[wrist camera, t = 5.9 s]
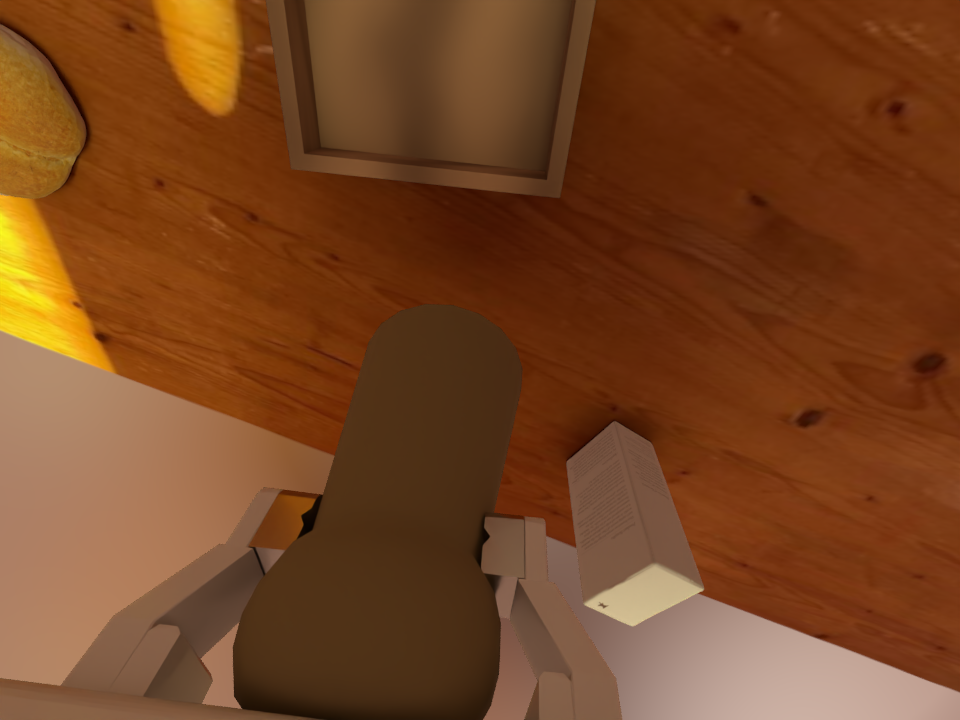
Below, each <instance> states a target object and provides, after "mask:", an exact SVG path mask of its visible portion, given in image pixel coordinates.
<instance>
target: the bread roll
mask: <svg viewBox="0 0 960 720" xmlns="http://www.w3.org/2000/svg"><path fill="white" fill-rule="evenodd" d="M85 139H86V126H85V123H84V121H83V118H82V116H81V115H80V113H79V111H78V108H77V107H76V105H75V103H74V102H73V100H72V98H71V96H70V94H69V93H68V91H67V90H66V88H65V87H64V85H63V83H62V82H61V80H60V78H59V77H58V75H57V73H56V71H55V70H54V68H53V67H52V65H51V63H50V62H49V61H48V59H47V58H46V57H45V56H44V55H43V54H42V53H41V52H40V51H39V50H38V49H37V48H35V47H34V46H33V45H32V44H31V43H30V42H28V41H27V40H25V39H24V38H22V37H21V36H19V35H18V34H16V33H15V32H13V31H11V30H10V29H9V28H7V27H5V26H3V25H1V24H0V195H5V196H14V197H21V198H30V199H33V198H41V197H45V196H47V195H49V194H51V193H53V192H54V191H56V190H57V189H59V188H60V187H61V186H62V185H63V184H64V183H65V182H66V180H67V179H68V177H69V174H70V172H71V169H72V166H73V164H74V162H75V159H76V157H77V155H79V153H80V152H81V150H82V148H83V146H84V143H85Z"/></svg>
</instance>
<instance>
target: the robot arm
mask: <svg viewBox="0 0 960 720" xmlns="http://www.w3.org/2000/svg"><path fill="white" fill-rule="evenodd" d="M322 497H323V495H321V494H313V493H306V492H298V491H290V490H283V489H274V488H266V487H264V488H263V489H261V490H260V491H259V492H258V493H257V495H256V496H255V498H254V500H253V501H252V503H251V504H250V506H249V507H248V509H247V511H246V512H245V514H244V515H243V517H242V518H241V520H240V522H239V523H238V525H237V527H236V528H235V530H234V531H233V533H232V534H231V536H230V538H229V539H228V541H227V542H226V544H219V545H217V546H216V547H214V548H213V549H211V550H210V551H208V552H207V553H205V554H204V555H202V556H201V557H199V558H198V559H196V560H195V561H194V562H192V563H191V564H189V565H188V566H186V567H185V568H183V569H182V570H180V571H179V572H177V573H176V574H174V575H173V576H171V577H170V578H168V579H167V580H166V581H164V582H162V583H161V584H160V585H158V586H157V587H155V588H154V589H152V590H151V591H149V592H148V593H146V594H145V595H143V596H142V597H140V598H139V599H137V600H136V601H134V602H133V603H131V604H130V605H128V606H127V607H126V608H124V609H123V610H121V611H120V612H118V613H117V614H115V615H114V616H113V617H112V618H111V619H110V621H109V622H108V623H107V625H106V626H105V627H104V629H103V630H102V631H101V633H100V634H99V635H98V637H97V638H96V639H95V641H94V642H93V643H92V645H91V646H90V647H89V649H88V650H87V651H86V653H85V654H84V655H83V656H82V658H81V659H80V661H79V662H78V663H77V665H76V666H75V667H74V668H73V670H72V671H71V673H70V674H69V675H68V677H67V678H66V679H65V681H64V682H63V683H62V685H61V686H57V685H50V684H42V683H34V682H27V681H19V680H11V679H3V678H0V720H323V719H315V718H308V717H300V716H292V715H284V714H276V713H269V712H261V711H253V710H245V709H237V708H230V707H222V706H214V705H206V704H202V702H203V700H204V698H205V695H206V694H207V691H208V690H209V687H210V685H211V683H212V681H213V680H212V676H211V673H210V672H209V670H208V669H207V668H206V666H205V665H204V663H203V662H202V660H201V658H202V657H203V656H204V655H205V654H206V653H207V652H208V651H209V650H210V649H211V648H212V647H213V646H214V645H215V644H216V643H217V642H218V641H219V640H221V639H222V638H223V637H224V636H225V635H226V634H227V633H228V632H229V631H230V630H231V629H232V628H233V627H234V626H235V625H236V624H237V623H239V622H240V619H241V615H242V612H243V611H244V609H245V607H246V605H247V603H248V601H249V599H250V597H251V596H252V594H253V592H254V590H255V588H256V586H257V584H258V583H259V581H260V580H261V579H262V578H263V577H264V575H265V574H266V573H267V572H268V571H269V569H270V568H271V567H272V566H273V565H274V563H275V562H276V561H277V560H278V559H279V557H280V556H281V555H282V554H283V553H284V552H285V550H286V549H287V548H288V547H289V546H290V545H291V543H292V542H293V541H295V540H297V539H299V538H300V537H302V536H304V535H305V534H307V533H309V532H311V531H312V530H313V527H314V523H315V520H316V517H317V513H318V510H319V507H320V503H321V500H322ZM483 540H484V544H483V548H482V555H481V564H480V568H481V570H482V571H483V573H484V574H485V576H486V578H487V580H488V582H489V584H490V585H491V587H492V589H493V591H494V593H495V596H496V601H497V607H498V612H499V617H502V618H508V619H510V622H511V624H512V627H513V629H514V631H515V633H516V635H517V637H518V640H519V642H520V644H521V646H522V648H523V650H524V653H525V655H526V657H527V659H528V661H529V664H530V666H531V668H532V670H533V672H534V674H535V677H536V679H537V681H538V682H537V684H536V687H535V690H534V693H533V696H532V699H531V702H530V705H529V707H528V710H527V713H526V716H525V719H524V720H622V715H621V708H620V702H619V695H618V688H617V682H616V678H615V676H614V675H613V673H612V672H611V670H610V669H609V667H608V665H607V664H606V662H605V661H604V659H603V658H602V656H601V654H600V653H599V651H598V650H597V648H596V647H595V645H594V644H593V642H592V640H591V639H590V638H589V636H588V634H587V633H586V631H585V630H584V628H583V626H582V625H581V623H580V622H579V620H578V619H577V617H576V616H575V614H574V613H573V611H572V610H571V608H570V607H569V605H568V603H567V602H566V600H565V599H564V597H563V595H562V594H561V592H560V591H559V589H558V588H557V586H556V585H555V583H552V582H548V565H547V545H546V526H545V521H544V519H543V518H535V517H524V516H521V515H511V514H500V513H490V512H485V522H484V533H483Z"/></svg>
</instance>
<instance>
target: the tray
mask: <svg viewBox="0 0 960 720" xmlns="http://www.w3.org/2000/svg"><path fill="white" fill-rule="evenodd" d="M595 3H596V0H266V5H267V12H268V19H269V25H270V32H271V39H272V45H273V52H274V59H275V65H276V72H277V78H278V85H279V92H280V98H281V105H282V112H283V118H284V125H285V132H286V138H287V145H288V152H289V158H290V165H291V169H296V170H305V171H314V172H323V173H332V174H341V175H351V176H360V177H369V178H378V179H387V180H396V181H406V182H415V183H424V184H433V185H442V186H452V187H461V188H470V189H479V190H488V191H497V192H507V193H516V194H525V195H534V196H543V197H553V198H560V195H561V190H562V184H563V179H564V173H565V168H566V162H567V157H568V151H569V146H570V140H571V135H572V129H573V124H574V118H575V113H576V107H577V102H578V96H579V91H580V85H581V80H582V74H583V69H584V63H585V58H586V52H587V47H588V41H589V36H590V30H591V25H592V19H593V14H594V8H595Z"/></svg>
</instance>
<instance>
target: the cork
mask: <svg viewBox="0 0 960 720" xmlns="http://www.w3.org/2000/svg"><path fill="white" fill-rule="evenodd" d="M521 384H522V366H521V363H520V359H519V356H518V353H517V350H516V348H515V346H514V345H513V344H512V342H511V341H510V340H509V339H508V337H507V336H506V335H505V333H504V332H503V331H502V330H501V329H500V328H499V327H498V326H496V325H495V324H493V323H492V322H490V321H489V320H487V319H486V318H484V317H483V316H482V315H480V314H478V313H475V312H472V311H469V310H466V309H463V308H460V307H457V306H454V305H434V304H424V305H421V306H417V307H413V308H409V309H406V310H402V311H400V312H398V313H397V314H395V315H394V316H392V317H391V318H389V319H388V320H386V321H385V322H383V323H382V324H381V325H380V326H379V328H378V329H377V331H376V332H375V334H374V335H373V337H372V338H371V339H370V341H369V343H368V347H367V350H366V353H365V357H364V360H363V363H362V367H361V370H360V373H359V377H358V380H357V383H356V387H355V390H354V393H353V397H352V400H351V403H350V407H349V410H348V413H347V417H346V420H345V423H344V427H343V430H342V433H341V437H340V440H339V443H338V447H337V450H336V453H335V457H334V460H333V464H332V467H331V470H330V473H329V477H328V480H327V483H326V487H325V490H324V494H323V497H322V500H321V503H320V507H319V510H318V513H317V517H316V520H315V523H314V527H313V530H312V531H311V532H309V533H307V534H305V535H304V536H302V537H300V538H299V539H297V540H295V541H293V542H292V543H291V545H290V546H289V547H288V548H287V549H286V550H285V552H284V553H283V554H282V555H281V556H280V557H279V559H278V560H277V561H276V562H275V563H274V565H273V566H272V567H271V568H270V569H269V571H268V572H267V573H266V574H265V575H264V577H263V578H262V579H261V580H260V581H259V583H258V584H257V586H256V588H255V590H254V592H253V594H252V596H251V597H250V599H249V601H248V603H247V605H246V607H245V609H244V611H243V612H242V615H241V619H240V623H239V627H238V630H237V634H236V638H235V642H234V645H233V673H234V697H235V698H236V700H237V702H238V703H239V705H240V706H241V708H242V709H245V710H253V711H261V712H269V713H276V714H284V715H292V716H300V717H308V718H315V719H323V720H483V718H484V717H485V715H486V713H487V711H488V710H489V708H490V706H491V702H492V699H493V695H494V691H495V687H496V683H497V679H498V675H499V662H500V631H501V630H500V629H501V622H500V617H499V612H498V607H497V601H496V596H495V593H494V591H493V589H492V587H491V585H490V584H489V582H488V580H487V578H486V576H485V574H484V573H483V571H482V570H481V568H480V564H481V555H482V548H483V544H484V540H483V533H484V522H485V512H490V513H494V509H495V505H496V500H497V496H498V491H499V487H500V482H501V478H502V473H503V469H504V464H505V460H506V455H507V451H508V446H509V442H510V437H511V433H512V428H513V424H514V419H515V414H516V410H517V405H518V401H519V396H520V392H521Z"/></svg>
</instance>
